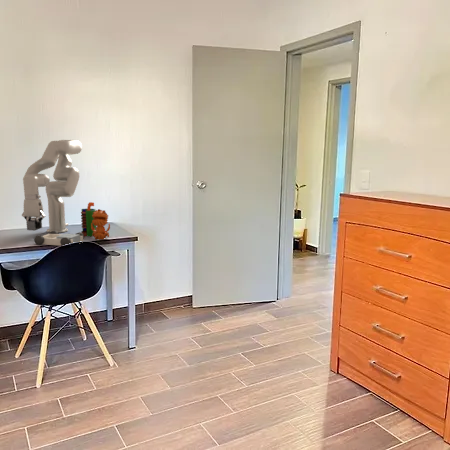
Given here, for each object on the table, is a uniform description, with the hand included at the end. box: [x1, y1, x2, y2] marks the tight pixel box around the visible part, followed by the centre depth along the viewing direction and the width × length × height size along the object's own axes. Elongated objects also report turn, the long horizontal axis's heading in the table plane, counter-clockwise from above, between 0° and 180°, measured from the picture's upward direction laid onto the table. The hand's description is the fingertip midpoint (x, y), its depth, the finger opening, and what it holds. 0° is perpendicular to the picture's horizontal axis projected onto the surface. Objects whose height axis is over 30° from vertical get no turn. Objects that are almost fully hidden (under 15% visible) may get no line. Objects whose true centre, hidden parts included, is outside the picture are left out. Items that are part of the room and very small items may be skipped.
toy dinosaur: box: [91, 209, 111, 240], centre depth 262 cm, size 11×11×18 cm
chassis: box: [33, 231, 85, 247], centre depth 250 cm, size 16×22×5 cm
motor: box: [80, 201, 97, 237], centre depth 272 cm, size 10×9×20 cm
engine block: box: [26, 217, 43, 231], centre depth 259 cm, size 7×5×6 cm
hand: (34, 227), depth 259 cm, fingers closed on engine block, 5 cm apart
